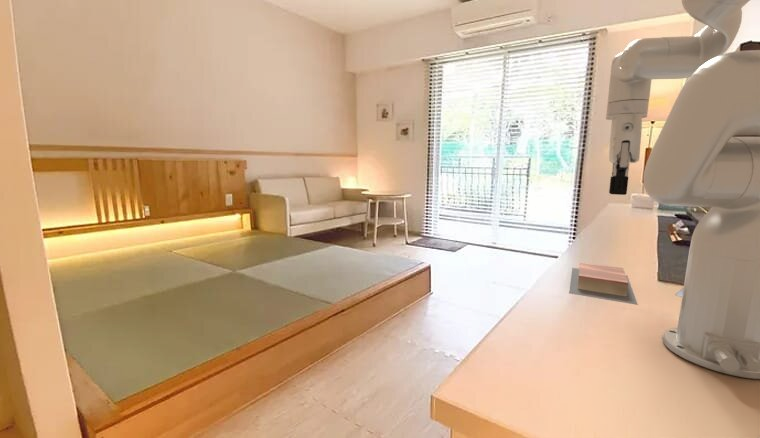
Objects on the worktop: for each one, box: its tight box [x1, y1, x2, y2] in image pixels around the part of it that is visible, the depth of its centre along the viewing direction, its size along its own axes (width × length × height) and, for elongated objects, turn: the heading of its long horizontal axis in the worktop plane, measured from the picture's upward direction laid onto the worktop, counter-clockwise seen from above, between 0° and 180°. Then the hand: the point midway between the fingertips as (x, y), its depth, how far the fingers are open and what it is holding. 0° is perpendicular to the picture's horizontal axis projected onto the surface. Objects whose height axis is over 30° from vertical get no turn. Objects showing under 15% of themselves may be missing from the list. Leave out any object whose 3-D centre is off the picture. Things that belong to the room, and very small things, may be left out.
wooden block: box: [578, 262, 628, 297], centre depth 80 cm, size 3×9×12 cm
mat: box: [568, 267, 639, 305], centre depth 81 cm, size 21×12×1 cm, turn 150°
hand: (617, 194), depth 80 cm, fingers closed
